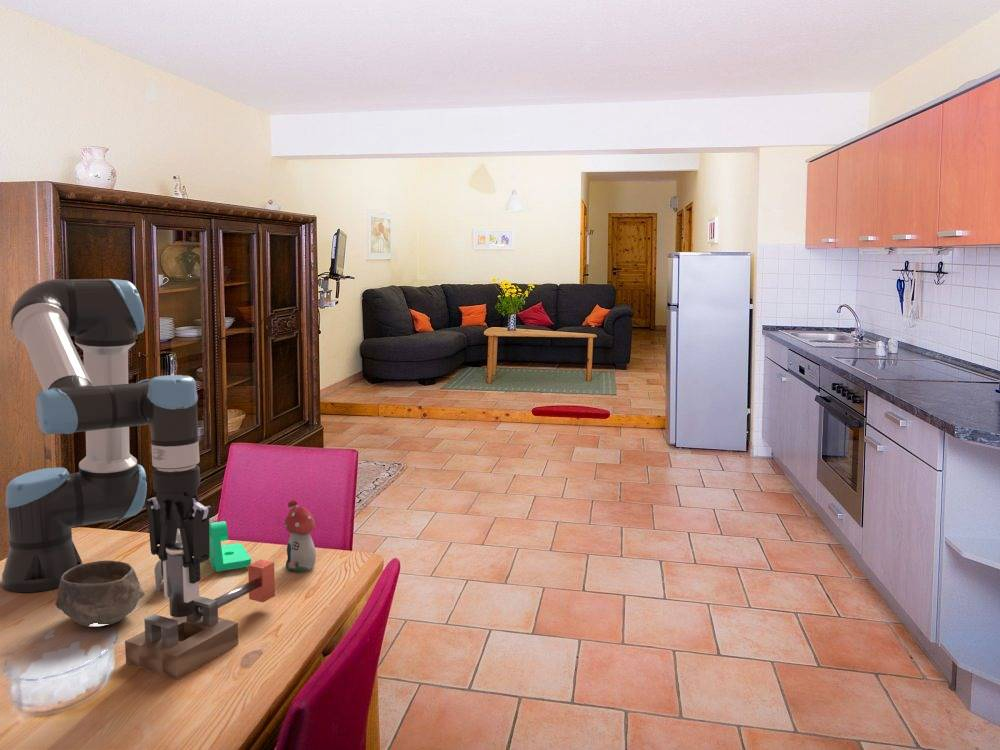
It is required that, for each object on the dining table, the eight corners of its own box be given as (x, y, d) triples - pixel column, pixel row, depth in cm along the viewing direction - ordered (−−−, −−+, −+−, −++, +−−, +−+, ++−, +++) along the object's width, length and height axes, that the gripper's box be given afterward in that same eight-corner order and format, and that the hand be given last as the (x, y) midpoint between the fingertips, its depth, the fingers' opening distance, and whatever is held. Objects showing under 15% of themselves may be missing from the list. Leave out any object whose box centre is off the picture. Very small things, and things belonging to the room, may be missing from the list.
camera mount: (252, 570, 177) (250, 526, 175) (216, 576, 173) (215, 531, 172) (241, 553, 187) (240, 511, 186) (207, 558, 184) (206, 515, 182)
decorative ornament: (283, 561, 182) (282, 498, 180) (312, 557, 185) (311, 495, 182) (288, 576, 174) (287, 510, 171) (318, 572, 176) (317, 507, 174)
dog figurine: (200, 570, 176) (198, 524, 175) (177, 593, 163) (175, 544, 162) (176, 570, 176) (175, 524, 175) (151, 593, 163) (149, 544, 162)
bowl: (87, 645, 141) (84, 592, 139) (41, 623, 149) (37, 573, 147) (157, 617, 153) (155, 568, 151) (111, 598, 161) (108, 551, 159)
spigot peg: (162, 614, 136) (159, 548, 135) (182, 605, 140) (180, 540, 139) (181, 619, 135) (178, 552, 133) (201, 609, 138) (198, 544, 137)
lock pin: (193, 628, 143) (191, 591, 142) (261, 592, 159) (260, 559, 158) (207, 632, 141) (206, 595, 140) (275, 595, 157) (274, 562, 156)
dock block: (125, 662, 135) (123, 618, 134) (189, 629, 148) (188, 588, 146) (176, 679, 130) (174, 633, 129) (238, 643, 142) (236, 601, 141)
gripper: (122, 465, 134) (129, 595, 137) (195, 477, 127) (201, 614, 130) (158, 456, 141) (164, 581, 144) (230, 467, 134) (234, 598, 137)
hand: (181, 596), depth 137 cm, fingers closed on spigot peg, 4 cm apart
